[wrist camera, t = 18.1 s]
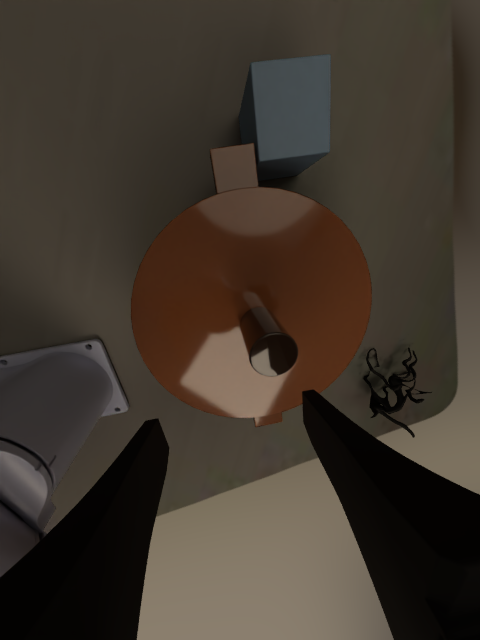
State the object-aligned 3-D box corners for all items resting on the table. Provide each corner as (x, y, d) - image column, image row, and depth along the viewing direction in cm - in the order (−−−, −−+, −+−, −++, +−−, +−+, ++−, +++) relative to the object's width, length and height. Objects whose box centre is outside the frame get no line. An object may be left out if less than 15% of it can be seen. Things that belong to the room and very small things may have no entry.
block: (246, 182, 17) (259, 161, 12) (238, 115, 15) (250, 61, 10) (297, 175, 17) (330, 152, 12) (294, 108, 15) (331, 52, 11)
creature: (371, 329, 24) (335, 393, 24) (423, 341, 18) (376, 423, 19) (417, 358, 26) (383, 417, 26) (474, 377, 21) (432, 450, 21)
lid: (172, 425, 18) (157, 495, 13) (97, 212, 12) (21, 197, 7) (356, 386, 18) (406, 439, 14) (368, 172, 13) (461, 133, 8)
